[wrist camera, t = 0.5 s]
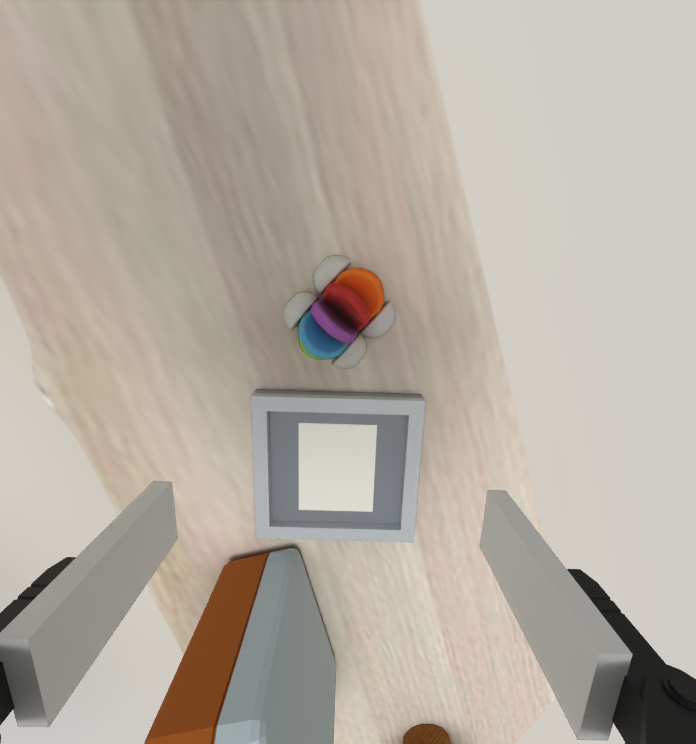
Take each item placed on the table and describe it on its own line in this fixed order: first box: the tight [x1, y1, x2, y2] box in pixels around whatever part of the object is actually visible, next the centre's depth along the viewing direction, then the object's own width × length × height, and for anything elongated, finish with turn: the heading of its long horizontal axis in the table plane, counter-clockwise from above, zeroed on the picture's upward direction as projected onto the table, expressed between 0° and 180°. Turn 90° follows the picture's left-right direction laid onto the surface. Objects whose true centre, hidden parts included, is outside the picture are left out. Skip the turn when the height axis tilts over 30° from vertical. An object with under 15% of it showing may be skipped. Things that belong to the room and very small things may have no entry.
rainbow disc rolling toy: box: [284, 255, 396, 369], centre depth 31 cm, size 8×10×7 cm
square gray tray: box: [251, 390, 426, 543], centre depth 37 cm, size 16×17×2 cm
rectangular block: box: [145, 548, 336, 744], centre depth 32 cm, size 18×9×21 cm, turn 14°
